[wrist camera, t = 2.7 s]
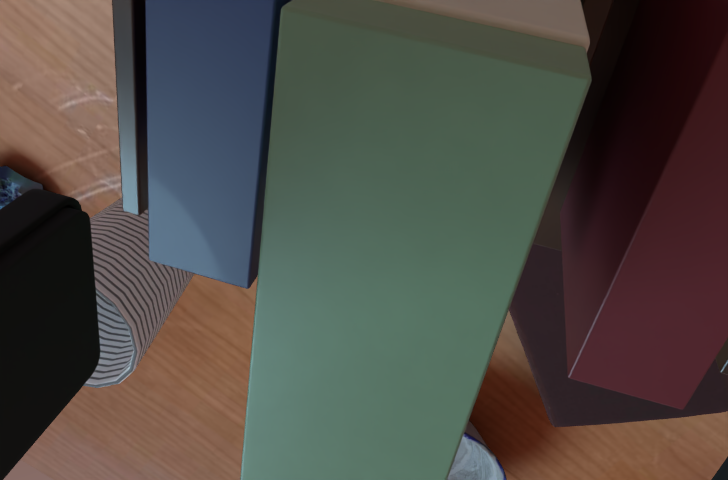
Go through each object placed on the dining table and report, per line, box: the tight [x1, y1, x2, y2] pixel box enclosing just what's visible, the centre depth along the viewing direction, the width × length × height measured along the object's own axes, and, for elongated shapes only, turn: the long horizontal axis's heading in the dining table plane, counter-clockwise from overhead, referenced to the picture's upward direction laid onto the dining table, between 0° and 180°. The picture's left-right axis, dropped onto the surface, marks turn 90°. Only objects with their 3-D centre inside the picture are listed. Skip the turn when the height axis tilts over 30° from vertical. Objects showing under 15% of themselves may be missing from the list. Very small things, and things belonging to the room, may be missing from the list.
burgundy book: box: [560, 0, 728, 409], centre depth 17 cm, size 9×3×8 cm, turn 171°
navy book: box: [145, 0, 292, 289], centre depth 18 cm, size 9×3×8 cm, turn 170°
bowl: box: [447, 421, 506, 480], centre depth 54 cm, size 13×13×5 cm
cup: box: [83, 198, 194, 388], centre depth 42 cm, size 8×8×16 cm
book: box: [509, 244, 728, 427], centre depth 43 cm, size 12×19×3 cm, turn 23°
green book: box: [240, 0, 592, 480], centre depth 15 cm, size 9×3×15 cm, turn 171°
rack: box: [112, 0, 728, 375], centre depth 26 cm, size 12×20×24 cm, turn 81°
